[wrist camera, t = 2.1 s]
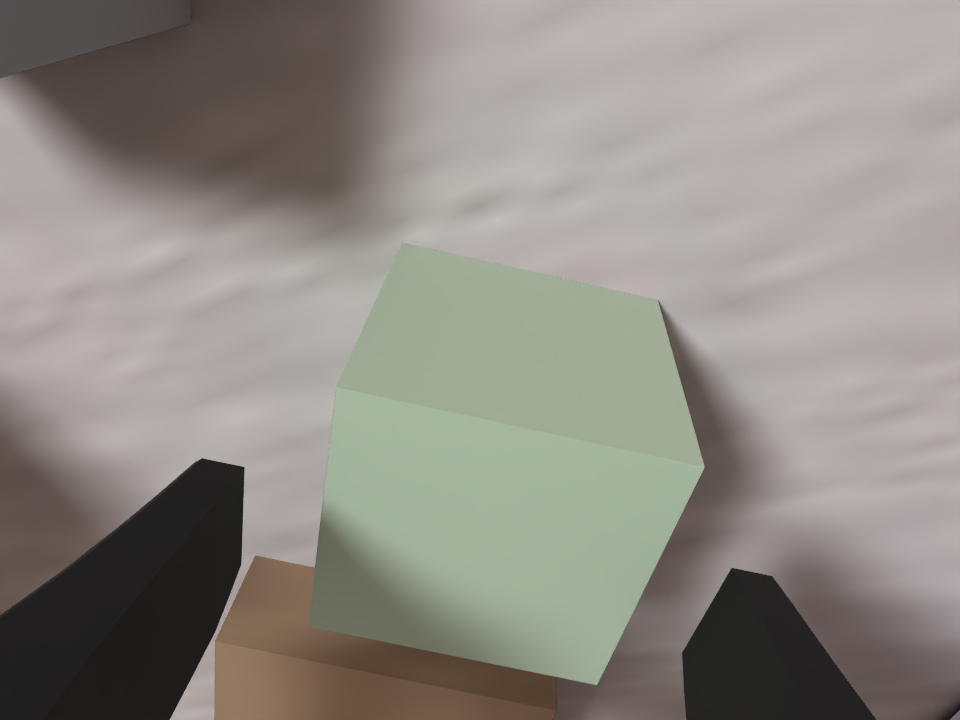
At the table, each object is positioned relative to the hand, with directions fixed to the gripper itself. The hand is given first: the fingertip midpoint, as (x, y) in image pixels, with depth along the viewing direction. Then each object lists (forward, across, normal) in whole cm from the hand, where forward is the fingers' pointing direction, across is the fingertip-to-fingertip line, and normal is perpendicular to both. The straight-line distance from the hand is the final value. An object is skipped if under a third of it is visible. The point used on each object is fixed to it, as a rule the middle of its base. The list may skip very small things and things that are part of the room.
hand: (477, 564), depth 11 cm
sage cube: (+5, 0, 0) cm, 5 cm away
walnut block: (+6, +1, +11) cm, 12 cm away
